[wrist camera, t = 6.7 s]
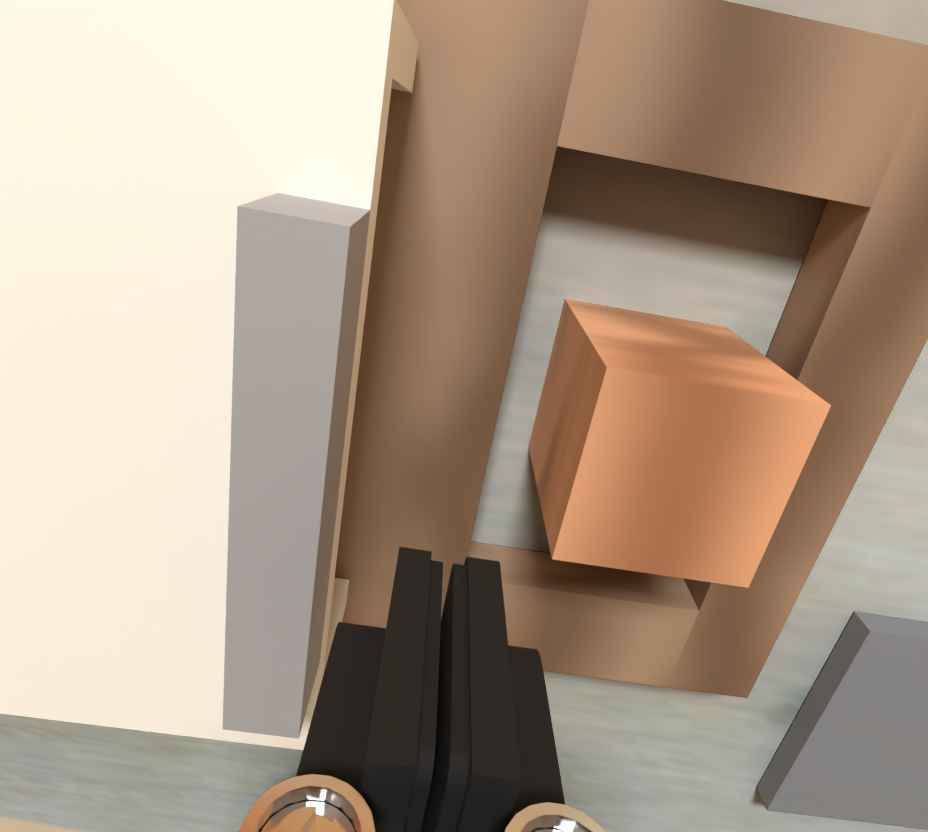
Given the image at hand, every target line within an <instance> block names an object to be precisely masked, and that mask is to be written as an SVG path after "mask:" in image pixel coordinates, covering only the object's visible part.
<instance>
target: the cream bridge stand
mask: <svg viewBox="0 0 928 832" xmlns="http://www.w3.org/2000/svg"><path fill="white" fill-rule="evenodd" d="M418 44H419V42H418V41H417V39H416V37H415V35H414V33H413V31H412V29H411V27H410V25H409V23H408V21H407V19H406V17H405V15H404V13H403V11H402V9H401V7H400V5H399V3H398V2H397V0H0V713H1V714H9V715H17V716H26V717H34V718H42V719H50V720H59V721H67V722H75V723H83V724H92V725H100V726H108V727H116V728H125V729H133V730H141V731H149V732H157V733H166V734H174V735H182V736H190V737H199V738H207V739H215V740H223V741H232V742H240V743H248V744H256V745H265V746H273V747H281V748H289V749H298V750H304V746H305V742H306V738H307V735H308V731H309V727H310V723H311V720H312V716H313V712H314V709H315V705H316V701H317V697H318V694H319V690H320V686H321V682H322V679H323V675H324V671H325V667H326V664H327V660H328V656H329V653H330V649H331V645H332V641H333V638H334V634H335V630H336V627H337V624H338V622H342V620H343V616H344V612H345V608H346V603H347V595H348V587H349V580H347V579H340V578H335V569H336V560H337V552H338V543H339V535H340V526H341V517H342V509H343V500H344V492H345V483H346V474H347V466H348V457H349V449H350V440H351V431H352V423H353V414H354V406H355V397H356V389H357V380H358V371H359V363H360V354H361V346H362V337H363V328H364V320H365V311H366V303H367V294H368V285H369V277H370V268H371V260H372V251H373V242H374V234H375V225H376V217H377V208H378V199H379V191H380V182H381V174H382V165H383V156H384V148H385V139H386V131H387V122H388V113H389V105H390V96H391V89H396V90H401V91H406V92H411V93H412V90H413V83H414V75H415V67H416V59H417V52H418Z"/></svg>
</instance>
